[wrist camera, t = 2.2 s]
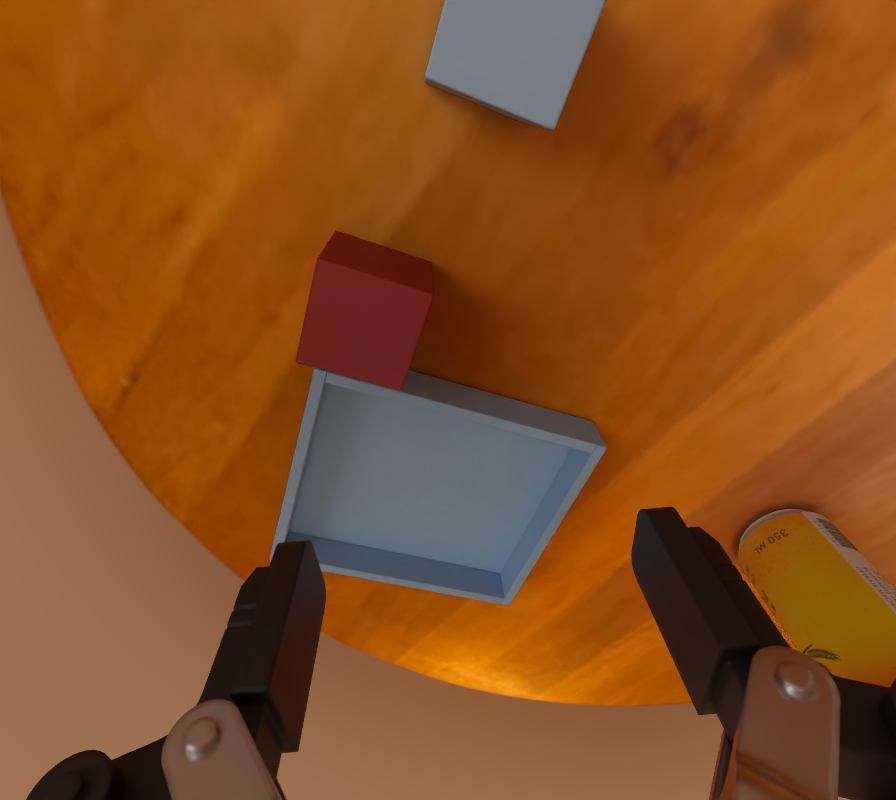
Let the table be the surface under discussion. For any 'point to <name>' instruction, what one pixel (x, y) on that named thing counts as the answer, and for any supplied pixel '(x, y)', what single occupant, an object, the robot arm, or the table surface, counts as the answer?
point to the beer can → (823, 594)
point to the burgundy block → (365, 311)
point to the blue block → (512, 54)
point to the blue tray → (432, 483)
